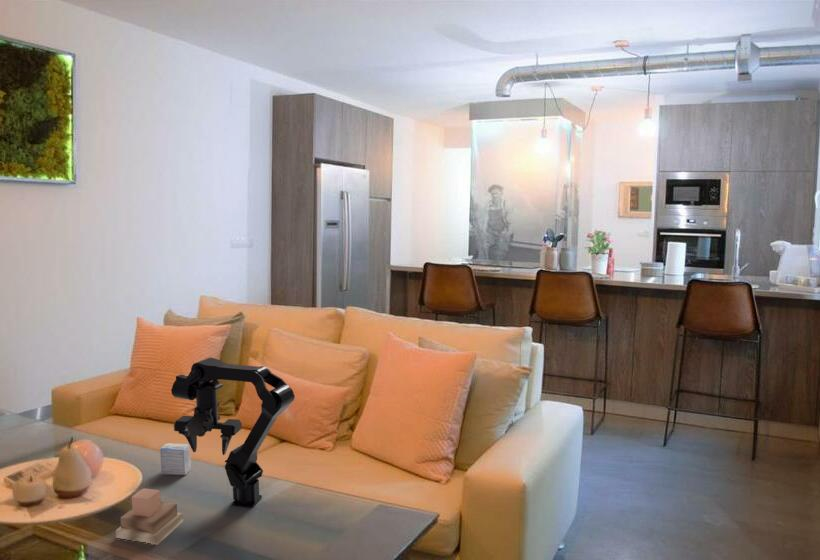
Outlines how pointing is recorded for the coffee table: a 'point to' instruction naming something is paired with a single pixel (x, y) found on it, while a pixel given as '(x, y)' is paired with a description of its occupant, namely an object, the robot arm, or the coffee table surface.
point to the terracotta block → (146, 502)
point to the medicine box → (175, 459)
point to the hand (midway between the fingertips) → (209, 453)
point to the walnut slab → (149, 519)
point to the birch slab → (151, 537)
